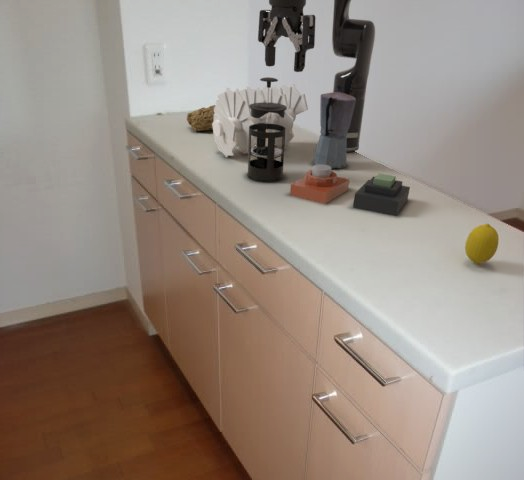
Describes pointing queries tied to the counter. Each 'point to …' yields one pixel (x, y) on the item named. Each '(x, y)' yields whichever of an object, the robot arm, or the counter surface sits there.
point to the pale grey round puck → (321, 171)
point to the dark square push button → (381, 198)
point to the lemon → (481, 243)
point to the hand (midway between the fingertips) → (284, 68)
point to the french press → (268, 167)
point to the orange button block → (319, 187)
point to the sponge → (201, 118)
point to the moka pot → (334, 128)
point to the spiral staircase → (239, 117)
